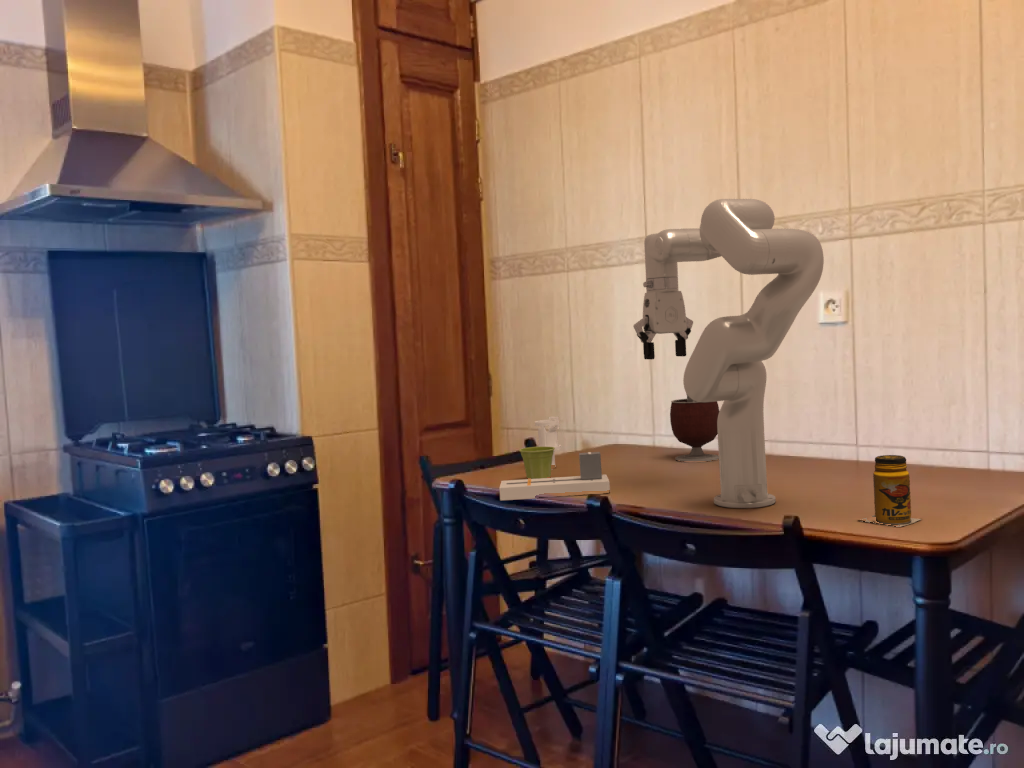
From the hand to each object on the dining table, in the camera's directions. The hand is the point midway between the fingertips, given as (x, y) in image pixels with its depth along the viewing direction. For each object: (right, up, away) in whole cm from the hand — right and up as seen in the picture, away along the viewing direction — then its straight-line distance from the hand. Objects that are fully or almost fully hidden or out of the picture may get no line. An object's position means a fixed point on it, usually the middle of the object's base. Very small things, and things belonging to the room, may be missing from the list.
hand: (665, 357), depth 203 cm
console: (-26, -33, +2) cm, 42 cm away
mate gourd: (+16, -28, +39) cm, 51 cm away
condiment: (+33, -32, -47) cm, 66 cm away
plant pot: (-29, -32, +21) cm, 49 cm away
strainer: (-26, -31, +41) cm, 58 cm away
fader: (-18, -29, +2) cm, 34 cm away
